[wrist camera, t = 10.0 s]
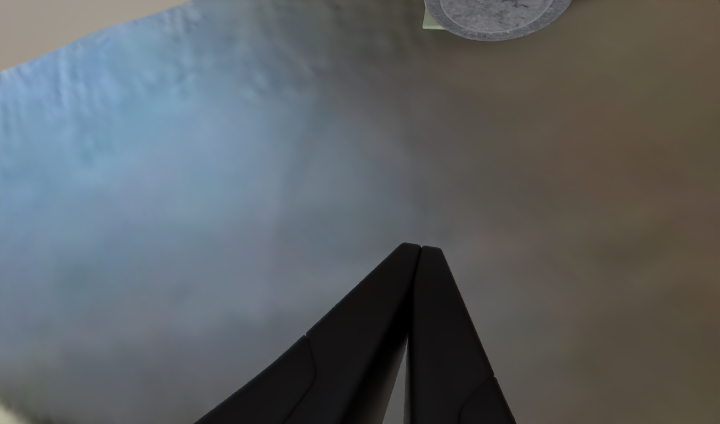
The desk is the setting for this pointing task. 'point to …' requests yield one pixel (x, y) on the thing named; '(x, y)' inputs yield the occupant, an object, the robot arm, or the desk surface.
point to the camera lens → (495, 17)
